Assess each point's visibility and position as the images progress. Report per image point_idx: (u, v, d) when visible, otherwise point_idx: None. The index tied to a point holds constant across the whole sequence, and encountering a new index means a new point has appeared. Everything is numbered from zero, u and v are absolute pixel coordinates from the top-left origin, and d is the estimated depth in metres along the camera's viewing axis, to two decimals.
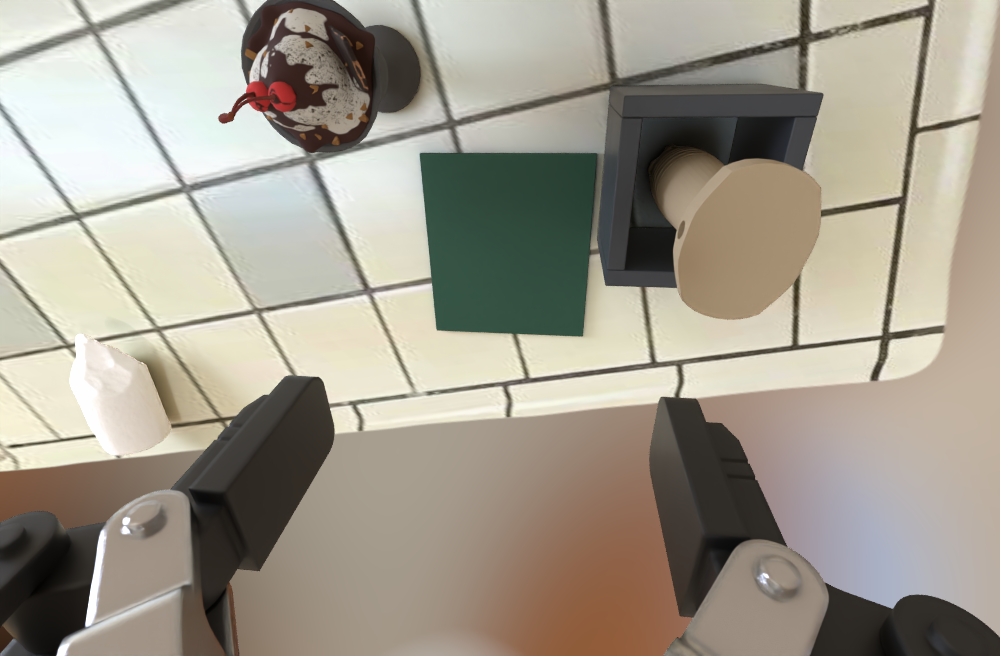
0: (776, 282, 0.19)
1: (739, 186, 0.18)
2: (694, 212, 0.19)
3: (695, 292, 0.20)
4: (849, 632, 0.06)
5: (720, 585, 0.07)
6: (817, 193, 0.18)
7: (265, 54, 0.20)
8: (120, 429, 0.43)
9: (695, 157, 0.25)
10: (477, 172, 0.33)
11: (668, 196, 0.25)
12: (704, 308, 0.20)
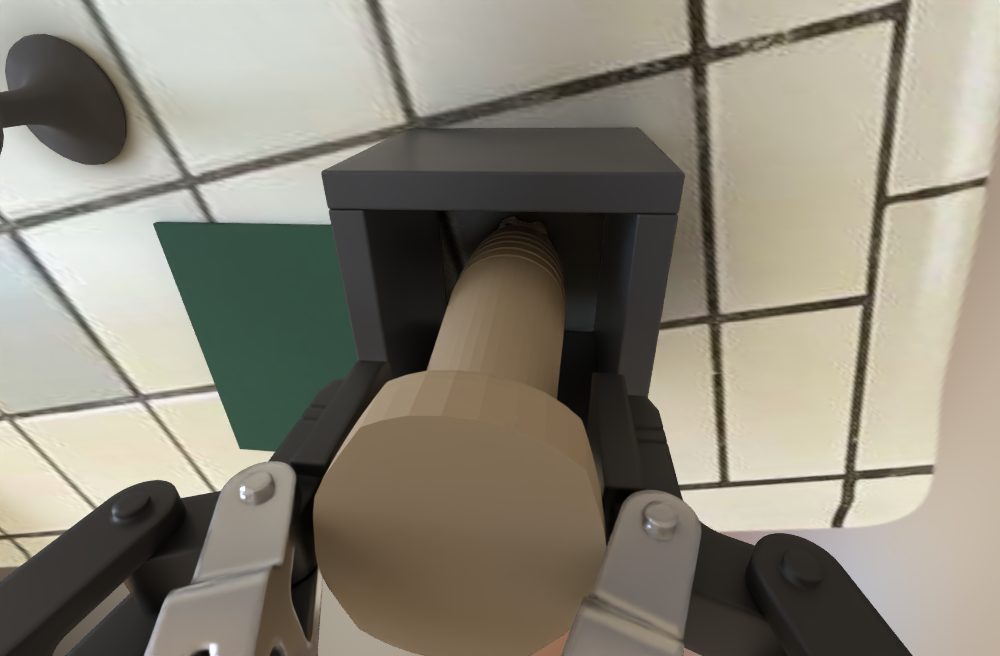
0: (539, 620, 0.09)
1: (390, 456, 0.07)
2: (317, 492, 0.08)
3: (380, 620, 0.09)
4: (721, 567, 0.07)
5: (615, 539, 0.07)
6: (582, 481, 0.07)
7: None
8: None
9: (492, 267, 0.14)
10: (240, 250, 0.22)
11: None
12: (409, 644, 0.10)
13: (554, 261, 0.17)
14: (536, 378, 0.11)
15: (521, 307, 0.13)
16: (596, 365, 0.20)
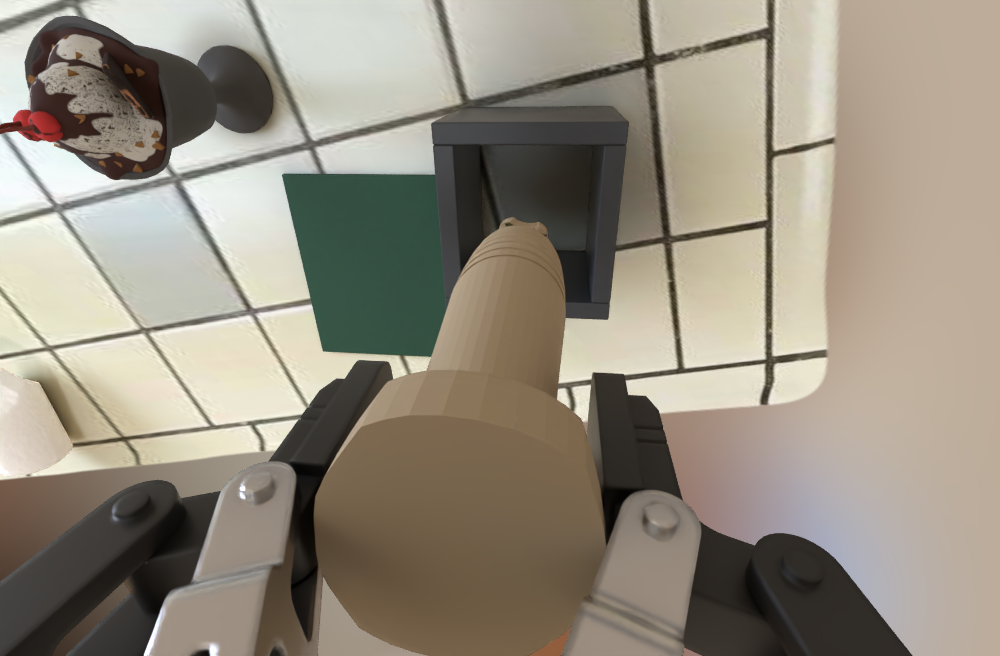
0: (539, 620, 0.09)
1: (391, 456, 0.07)
2: (318, 492, 0.08)
3: (380, 619, 0.09)
4: (721, 567, 0.07)
5: (615, 539, 0.07)
6: (582, 481, 0.07)
7: (33, 82, 0.20)
8: (8, 450, 0.42)
9: (492, 267, 0.14)
10: (341, 193, 0.32)
11: None
12: (409, 643, 0.10)
13: (554, 261, 0.17)
14: (536, 378, 0.11)
15: (521, 307, 0.13)
16: (586, 266, 0.30)
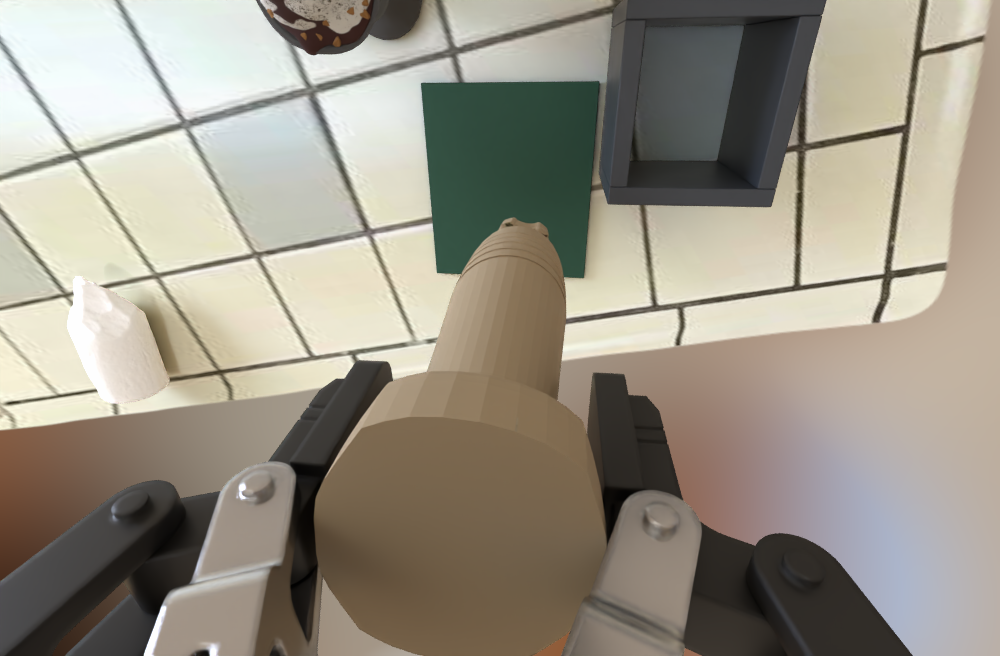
0: (540, 621, 0.09)
1: (391, 458, 0.07)
2: (318, 493, 0.08)
3: (380, 621, 0.09)
4: (721, 567, 0.07)
5: (615, 539, 0.07)
6: (583, 482, 0.07)
7: None
8: (117, 376, 0.43)
9: (493, 267, 0.14)
10: (479, 102, 0.33)
11: None
12: (409, 645, 0.10)
13: (555, 262, 0.17)
14: (537, 379, 0.11)
15: (521, 308, 0.13)
16: (728, 169, 0.31)
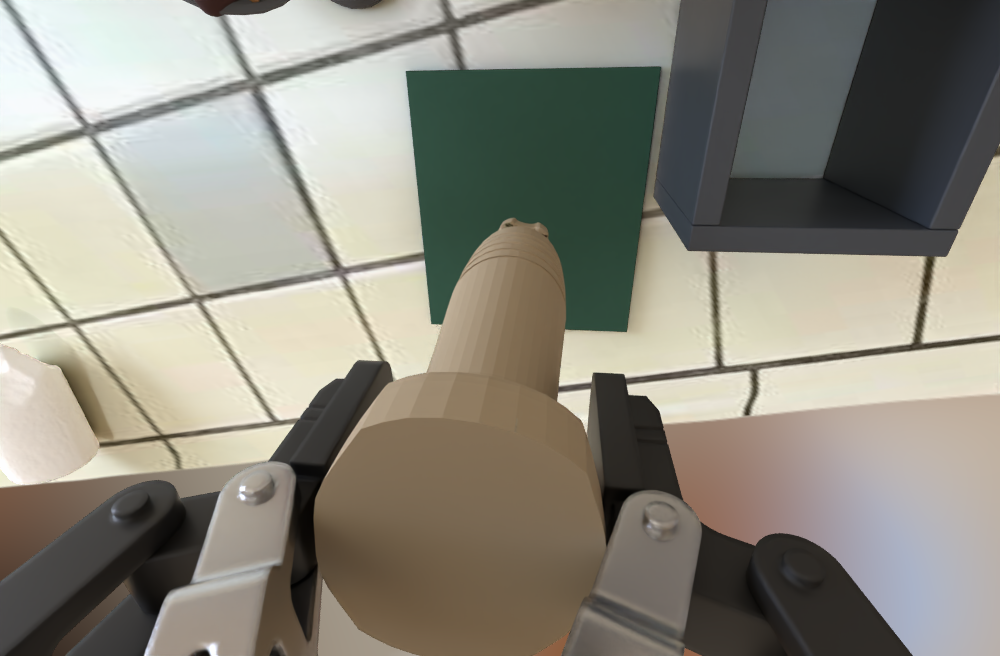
0: (539, 622, 0.09)
1: (390, 458, 0.07)
2: None
3: (380, 621, 0.09)
4: (721, 567, 0.07)
5: (615, 539, 0.07)
6: (582, 483, 0.07)
7: None
8: (22, 453, 0.33)
9: (493, 268, 0.14)
10: (487, 98, 0.23)
11: None
12: (409, 645, 0.10)
13: (554, 262, 0.17)
14: (536, 379, 0.11)
15: (521, 308, 0.13)
16: (850, 192, 0.21)
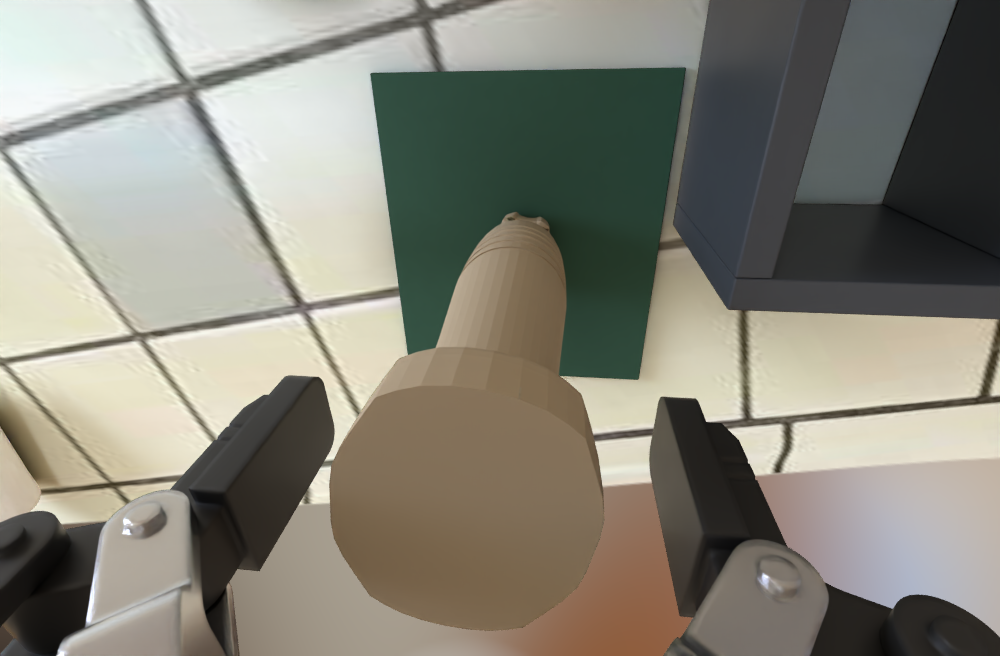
0: (541, 585, 0.09)
1: (403, 425, 0.08)
2: None
3: (390, 587, 0.10)
4: (849, 632, 0.06)
5: (720, 585, 0.07)
6: (581, 448, 0.07)
7: None
8: None
9: (495, 258, 0.15)
10: (471, 106, 0.19)
11: None
12: (417, 611, 0.10)
13: (555, 254, 0.17)
14: (538, 361, 0.11)
15: (524, 296, 0.13)
16: (925, 225, 0.17)
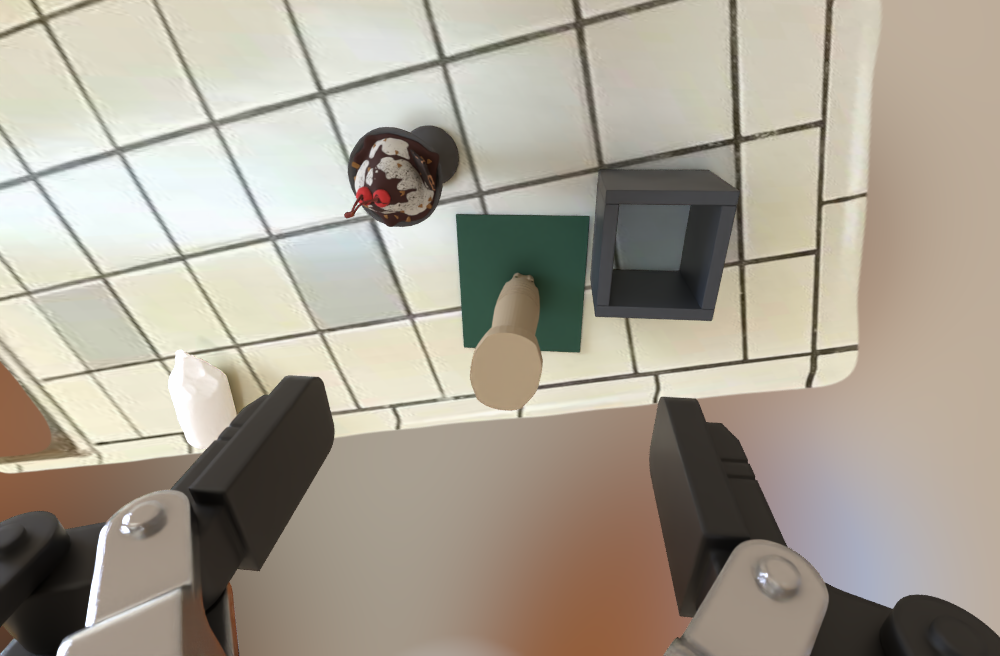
0: (526, 391, 0.34)
1: (493, 343, 0.32)
2: (473, 354, 0.33)
3: (483, 395, 0.34)
4: (849, 632, 0.06)
5: (720, 585, 0.07)
6: (535, 347, 0.32)
7: (369, 169, 0.31)
8: (205, 427, 0.53)
9: (511, 297, 0.40)
10: (499, 228, 0.44)
11: (492, 323, 0.39)
12: (490, 404, 0.35)
13: (535, 294, 0.42)
14: None
15: (522, 311, 0.38)
16: (685, 283, 0.42)
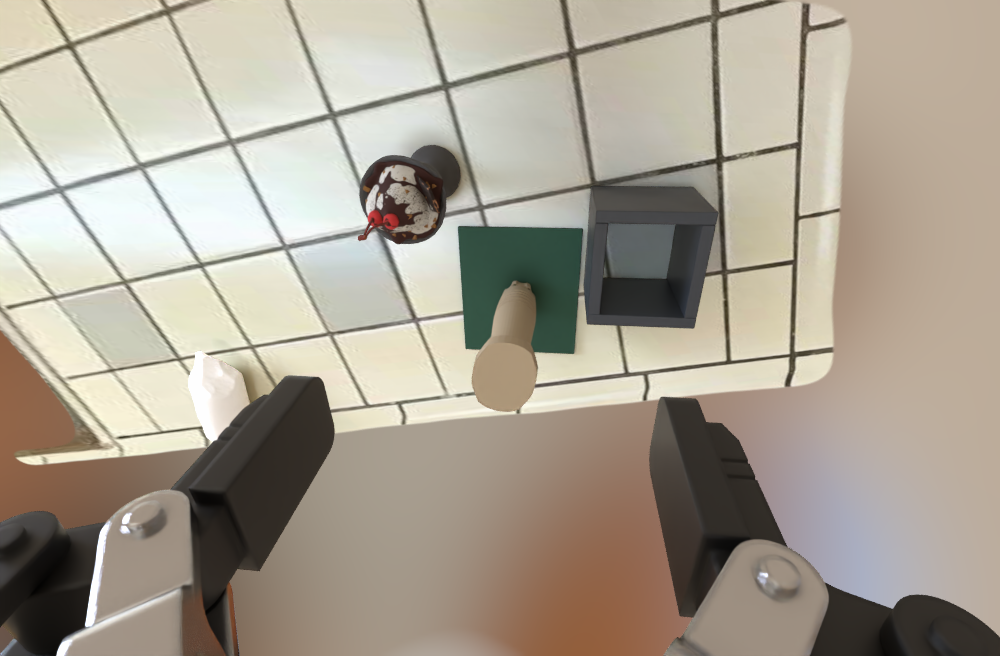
0: (523, 394, 0.37)
1: (492, 351, 0.35)
2: (475, 361, 0.36)
3: (484, 398, 0.38)
4: (849, 632, 0.06)
5: (720, 585, 0.07)
6: (530, 356, 0.35)
7: (379, 194, 0.34)
8: (223, 423, 0.57)
9: (509, 305, 0.43)
10: (498, 240, 0.47)
11: None
12: (490, 405, 0.38)
13: (532, 302, 0.45)
14: (523, 340, 0.39)
15: (519, 320, 0.41)
16: (671, 291, 0.45)
